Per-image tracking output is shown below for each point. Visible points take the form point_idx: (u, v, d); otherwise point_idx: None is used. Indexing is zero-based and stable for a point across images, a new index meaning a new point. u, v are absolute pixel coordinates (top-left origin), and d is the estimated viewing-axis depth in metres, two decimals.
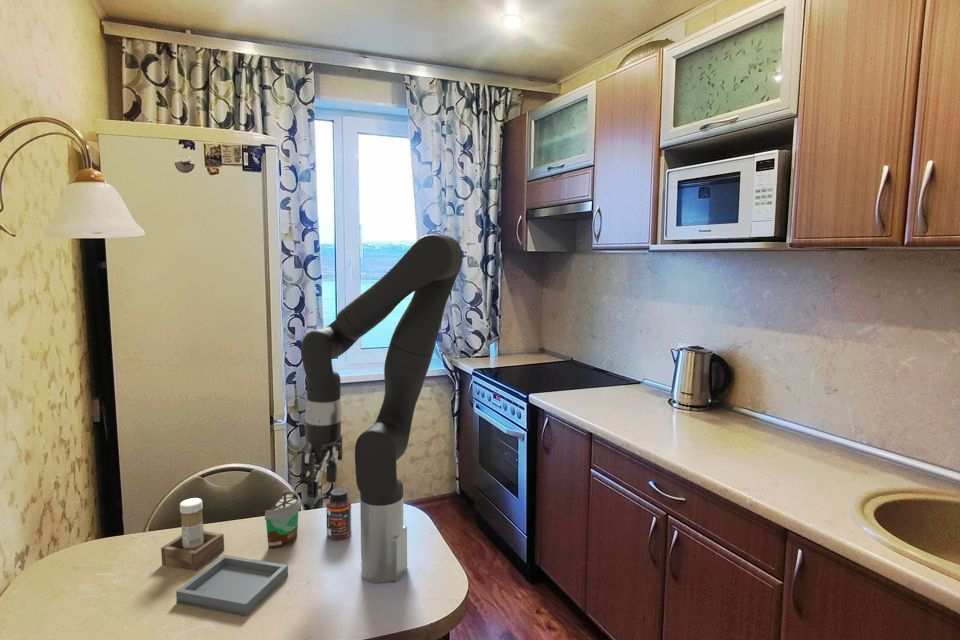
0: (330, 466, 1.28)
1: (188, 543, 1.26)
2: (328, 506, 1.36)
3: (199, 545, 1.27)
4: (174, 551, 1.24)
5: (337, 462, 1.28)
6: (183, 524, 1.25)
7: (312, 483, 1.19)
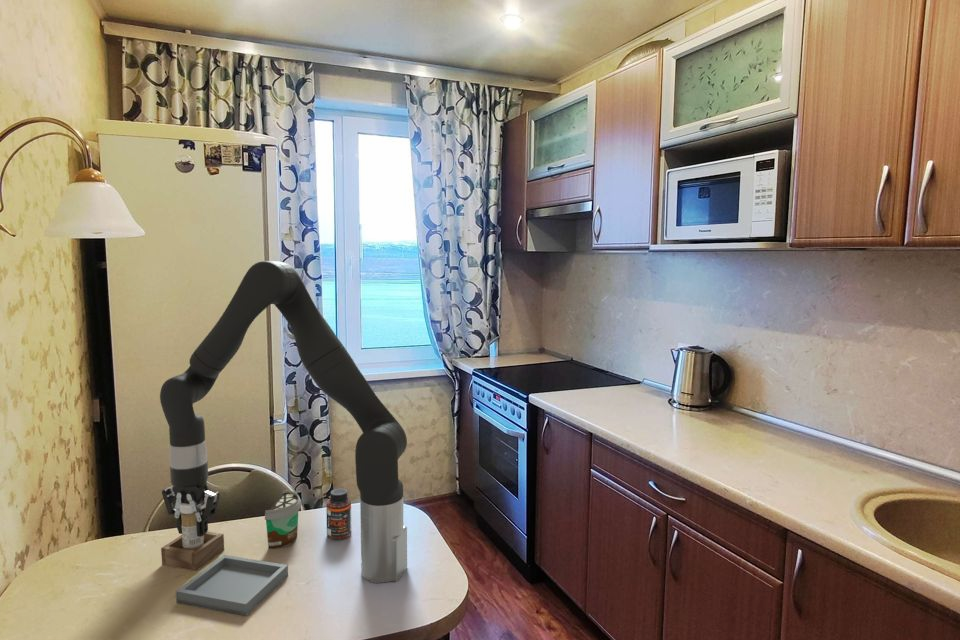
0: None
1: (188, 543, 1.26)
2: (328, 506, 1.36)
3: (199, 545, 1.27)
4: (174, 551, 1.24)
5: None
6: (183, 524, 1.25)
7: (206, 519, 1.27)
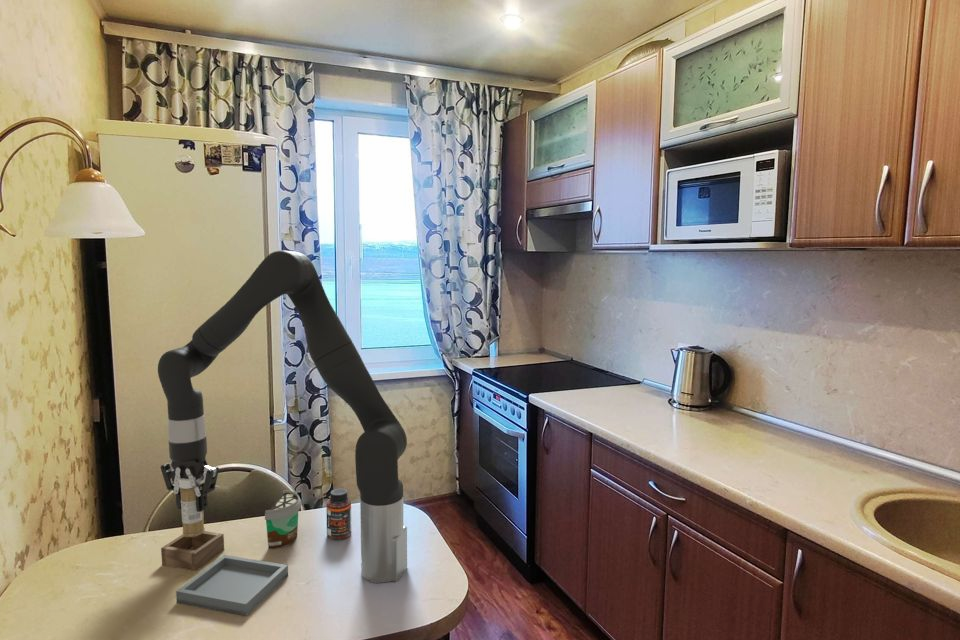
0: None
1: (187, 518, 1.25)
2: (328, 506, 1.36)
3: (199, 520, 1.26)
4: (174, 551, 1.24)
5: None
6: (182, 499, 1.25)
7: (206, 494, 1.26)
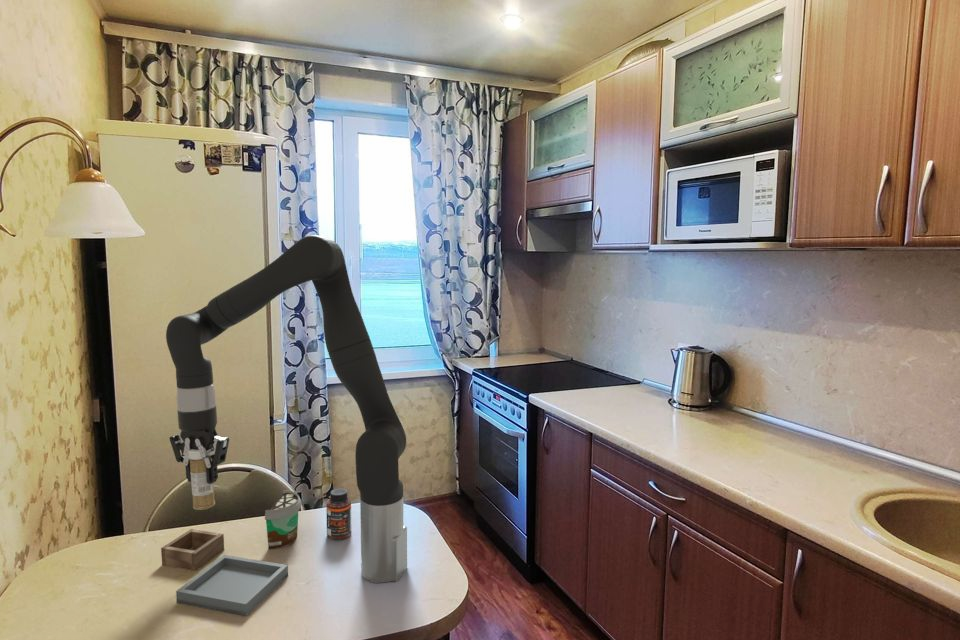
0: None
1: (197, 490, 1.21)
2: (328, 506, 1.36)
3: (209, 493, 1.22)
4: (174, 551, 1.24)
5: None
6: (192, 471, 1.21)
7: (216, 466, 1.22)
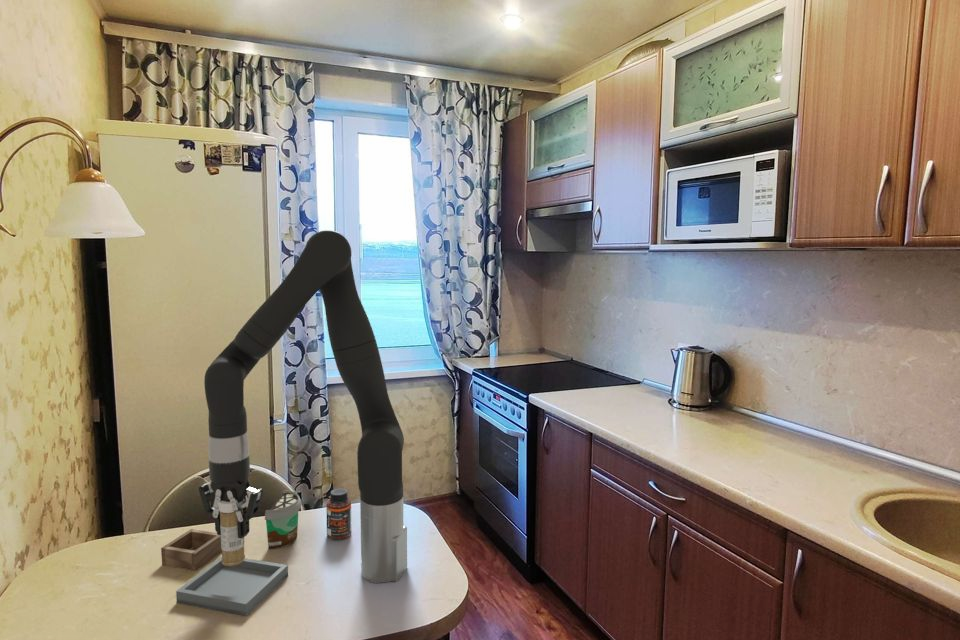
0: None
1: (228, 545, 1.13)
2: (328, 506, 1.36)
3: (239, 548, 1.14)
4: (174, 551, 1.24)
5: None
6: (222, 524, 1.13)
7: (248, 519, 1.14)
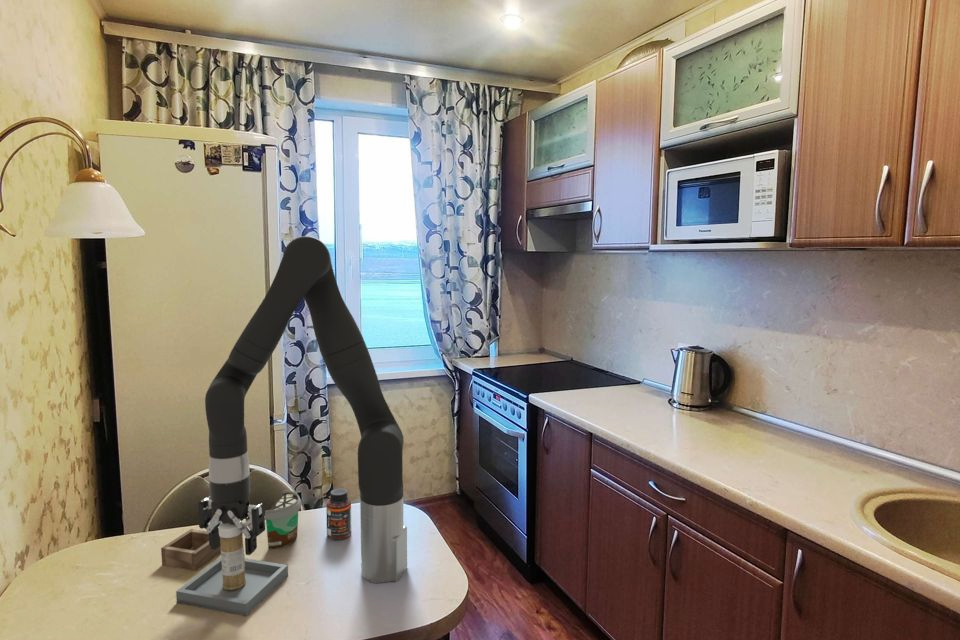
0: (215, 531, 1.16)
1: (228, 570, 1.14)
2: (328, 506, 1.36)
3: (240, 572, 1.15)
4: (174, 551, 1.24)
5: None
6: (223, 549, 1.13)
7: None
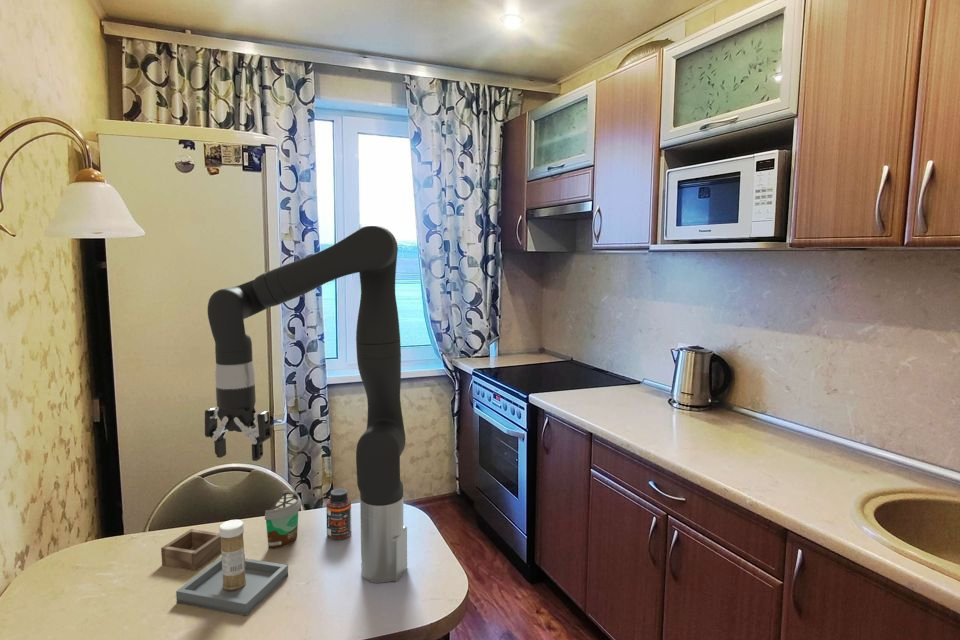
0: (221, 440, 1.19)
1: (229, 570, 1.14)
2: (328, 506, 1.36)
3: (240, 572, 1.15)
4: (174, 551, 1.24)
5: None
6: (223, 549, 1.13)
7: (262, 443, 1.18)
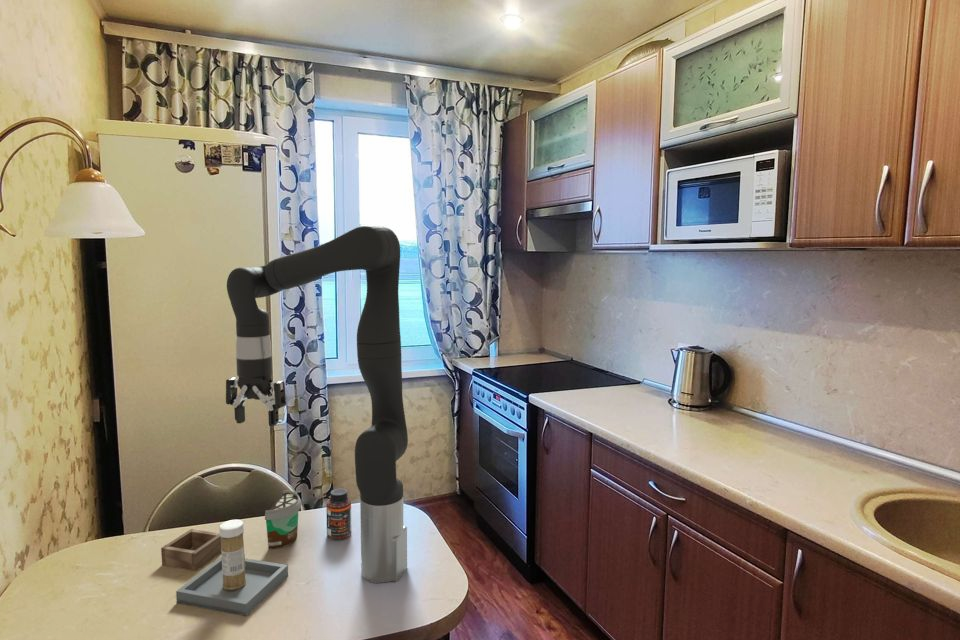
0: (240, 407, 1.30)
1: (229, 570, 1.14)
2: (328, 506, 1.36)
3: (240, 572, 1.15)
4: (174, 551, 1.24)
5: None
6: (223, 549, 1.14)
7: (277, 410, 1.28)
